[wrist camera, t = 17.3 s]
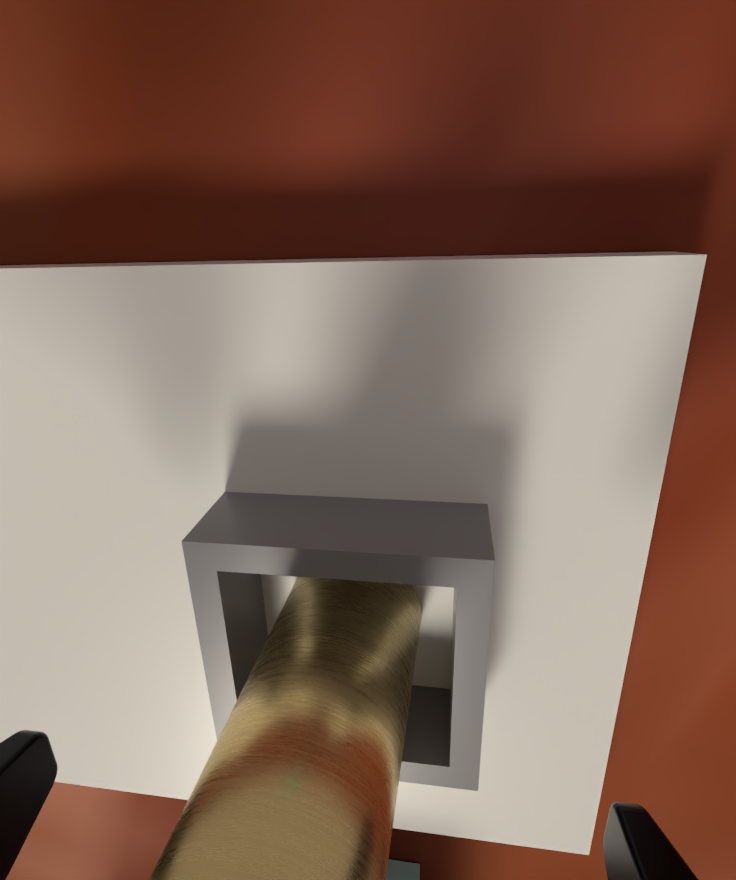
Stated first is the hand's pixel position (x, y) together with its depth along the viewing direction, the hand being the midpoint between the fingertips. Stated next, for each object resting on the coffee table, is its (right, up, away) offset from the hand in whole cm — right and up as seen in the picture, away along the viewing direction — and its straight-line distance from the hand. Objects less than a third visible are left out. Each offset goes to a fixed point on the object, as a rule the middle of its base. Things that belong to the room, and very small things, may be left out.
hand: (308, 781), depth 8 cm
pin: (+1, +1, +4) cm, 4 cm away
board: (-3, +2, +6) cm, 7 cm away
